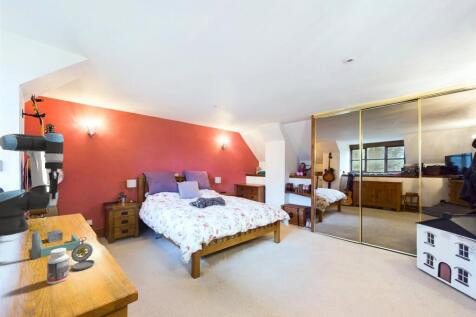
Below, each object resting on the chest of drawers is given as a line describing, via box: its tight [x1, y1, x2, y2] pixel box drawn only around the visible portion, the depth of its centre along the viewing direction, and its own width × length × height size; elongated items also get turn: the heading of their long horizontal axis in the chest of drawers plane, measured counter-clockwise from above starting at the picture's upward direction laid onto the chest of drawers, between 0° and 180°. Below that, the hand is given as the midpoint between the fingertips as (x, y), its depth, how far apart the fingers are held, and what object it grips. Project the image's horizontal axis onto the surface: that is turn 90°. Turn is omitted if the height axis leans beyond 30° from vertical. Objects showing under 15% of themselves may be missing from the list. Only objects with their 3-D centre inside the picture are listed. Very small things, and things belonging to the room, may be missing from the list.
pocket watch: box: [70, 236, 95, 271], centre depth 78 cm, size 8×8×10 cm
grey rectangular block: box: [46, 229, 64, 244], centre depth 105 cm, size 7×5×4 cm
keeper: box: [31, 230, 81, 260], centre depth 94 cm, size 15×16×10 cm
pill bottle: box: [46, 248, 70, 285], centre depth 68 cm, size 5×5×10 cm
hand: (53, 205), depth 112 cm, fingers closed
